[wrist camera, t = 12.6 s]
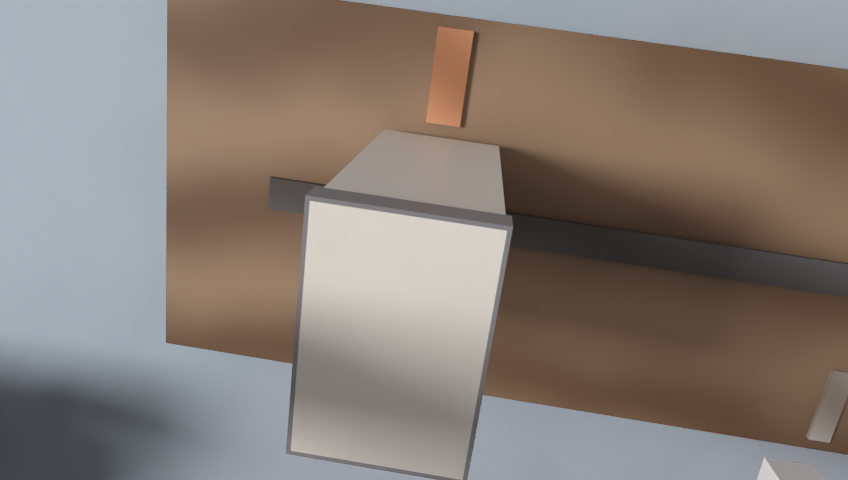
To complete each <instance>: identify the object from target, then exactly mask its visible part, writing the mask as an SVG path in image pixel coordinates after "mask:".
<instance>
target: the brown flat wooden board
mask: <svg viewBox="0 0 848 480" xmlns="http://www.w3.org/2000/svg"><path fill="white" fill-rule="evenodd" d="M384 129H385V130H392V131H399V132H406V133H413V134H420V135H427V136H434V137H440V138H447V139H454V140H461V141H468V142H475V143H482V144H489V145H495V146H499V151H500V161H501V172H502V182H503V192H504V202H505V213H506V215H510V216H512V222H513V230H512V236H511V241H510V247H509V252H508V258H507V263H506V269H505V274H504V280H503V285H502V291H501V296H500V302H499V307H498V313H497V318H496V324H495V329H494V335H493V340H492V346H491V351H490V357H489V362H488V368H487V373H486V379H485V384H484V390H483V395H488V396H494V397H500V398H506V399H512V400H518V401H524V402H530V403H536V404H543V405H549V406H555V407H561V408H567V409H573V410H579V411H585V412H591V413H597V414H603V415H609V416H616V417H622V418H628V419H634V420H640V421H646V422H652V423H658V424H664V425H670V426H676V427H683V428H689V429H695V430H701V431H707V432H713V433H719V434H725V435H731V436H737V437H743V438H749V439H756V440H762V441H768V442H774V443H780V444H786V445H792V446H798V447H804V448H810V449H816V450H823V451H829V452H835V453H841V454H847V455H848V69H840V68H833V67H826V66H818V65H811V64H804V63H796V62H789V61H782V60H774V59H767V58H760V57H752V56H745V55H738V54H730V53H723V52H716V51H708V50H701V49H693V48H686V47H679V46H671V45H664V44H657V43H649V42H642V41H635V40H627V39H620V38H613V37H605V36H598V35H591V34H583V33H576V32H569V31H561V30H554V29H547V28H539V27H532V26H525V25H517V24H510V23H503V22H495V21H488V20H481V19H473V18H466V17H459V16H451V15H444V14H437V13H429V12H422V11H415V10H407V9H400V8H393V7H385V6H378V5H371V4H363V3H356V2H349V1H341V0H168V10H167V243H166V343H171V344H177V345H183V346H189V347H196V348H202V349H208V350H214V351H220V352H226V353H232V354H238V355H244V356H250V357H256V358H263V359H269V360H275V361H281V362H287V363H293V353H294V340H295V326H296V313H297V299H298V286H299V272H300V259H301V245H302V232H303V218H304V205H305V195H306V194H307V193H308V192H309V191H310V190H312V189H313V188H314V187H315V186H317V187H325V186H326V185H327V184H328V183H329V182H330V181H331V180H332V179H333V178H334V177H335V176H336V175H337V174H338V173H339V172H340V171H341V170H342V169H344V168H345V167H346V166H347V165H348V164H349V163H350V162H351V161H352V160H353V159H354V158H355V157H356V156H357V155H358V154H359V153H360V152H361V151H362V150H363V149H365V148H366V147H367V146H368V145H369V144H370V143H371V142H372V141H373V140H374V139H375V138H376V137H377V136H378V135H379V134H380V133H381V132H382V131H383V130H384Z"/></svg>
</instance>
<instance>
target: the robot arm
mask: <svg viewBox="0 0 848 480" xmlns="http://www.w3.org/2000/svg"><path fill="white" fill-rule="evenodd" d="M757 480H826V479H825V478H824V477H823V476H822V474H821V473H820V472H819V471H818V469H817V468H816V467H815V465H808V464H802V463H796V462H790V461H783V460H777V459H771V458H764V460H763V463H762V466H761V469H760V472H759V475H758V478H757Z"/></svg>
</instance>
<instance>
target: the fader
mask: <svg viewBox="0 0 848 480" xmlns="http://www.w3.org/2000/svg"><path fill="white" fill-rule="evenodd" d="M512 230H513V222H512V216H510V215H506V213H505V202H504V192H503V182H502V172H501V161H500V151H499V146H495V145H489V144H482V143H475V142H468V141H461V140H454V139H447V138H440V137H434V136H427V135H420V134H413V133H406V132H399V131H392V130H385V129H384V130H383V131H382V132H381V133H380V134H379V135H378V136H377V137H376V138H375V139H374V140H373V141H372V142H371V143H370V144H369V145H368V146H367V147H366V148H365V149H363V150H362V151H361V152H360V153H359V154H358V155H357V156H356V157H355V158H354V159H353V160H352V161H351V162H350V163H349V164H348V165H347V166H346V167H345V168H344V169H342V170H341V171H340V172H339V173H338V174H337V175H336V176H335V177H334V178H333V179H332V180H331V181H330V182H329V183H328V184H327V185H326V186H325V187H317V186H315V187H314V188H313V189H312V190H310V191H309V192H308V193H307V194H306V195H305V205H304V218H303V232H302V245H301V259H300V272H299V286H298V299H297V313H296V326H295V340H294V353H293V367H292V380H291V394H290V407H289V421H288V434H287V448H286V454H291V455H297V456H303V457H309V458H314V459H320V460H326V461H332V462H338V463H344V464H350V465H355V466H361V467H367V468H373V469H379V470H385V471H390V472H396V473H402V474H408V475H414V476H420V477H425V478H431V479H437V480H467V478H468V472H469V467H470V461H471V456H472V450H473V445H474V439H475V434H476V428H477V423H478V417H479V412H480V406H481V401H482V395H483V390H484V384H485V379H486V373H487V368H488V362H489V357H490V351H491V346H492V340H493V335H494V329H495V324H496V318H497V313H498V307H499V302H500V296H501V291H502V285H503V280H504V274H505V269H506V263H507V258H508V252H509V247H510V241H511V236H512Z"/></svg>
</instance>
